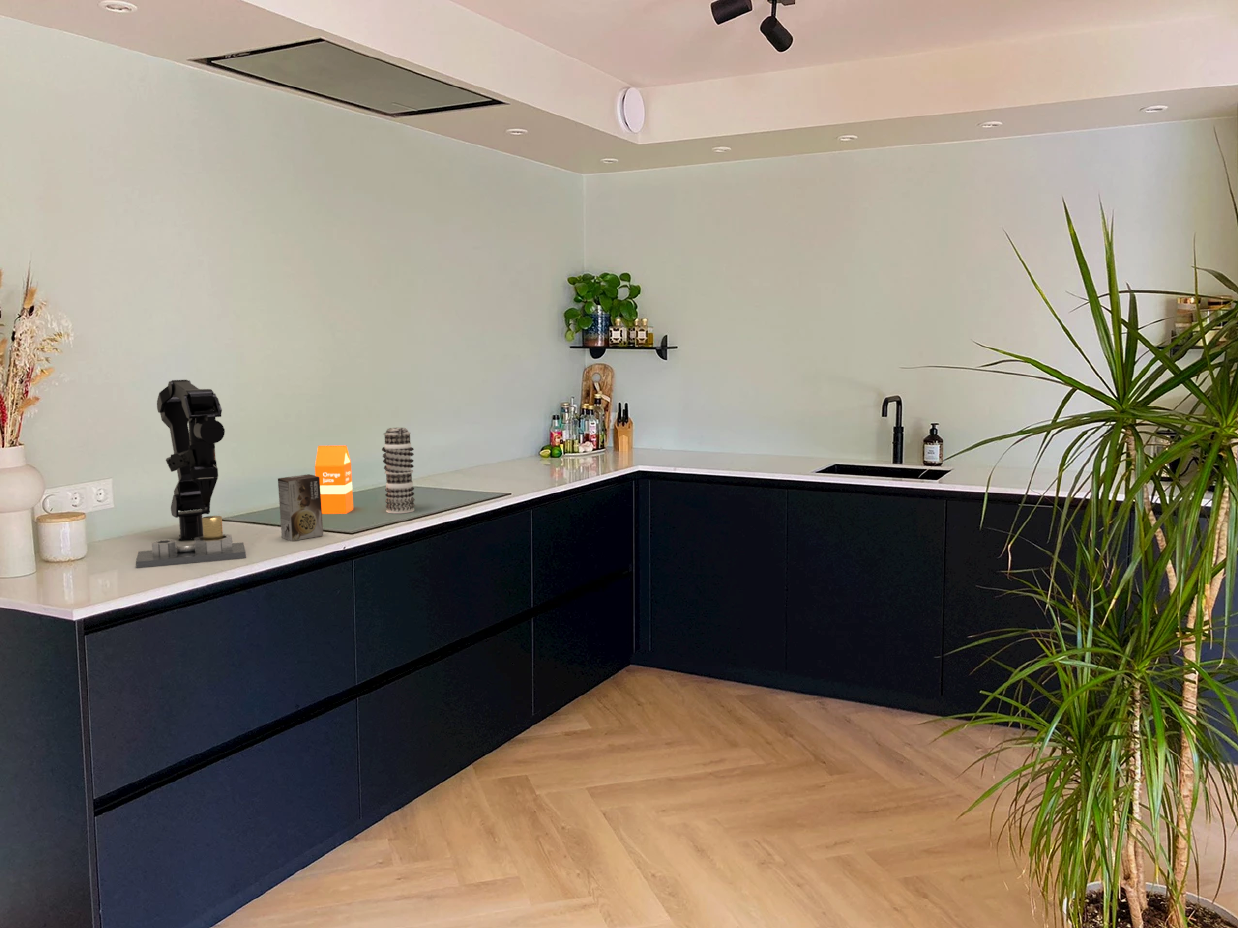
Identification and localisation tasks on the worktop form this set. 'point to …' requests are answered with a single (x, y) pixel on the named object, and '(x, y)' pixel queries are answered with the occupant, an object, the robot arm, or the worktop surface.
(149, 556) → the manifold
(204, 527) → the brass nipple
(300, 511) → the coffee box
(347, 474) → the orange juice
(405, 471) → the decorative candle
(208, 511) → the robot arm
